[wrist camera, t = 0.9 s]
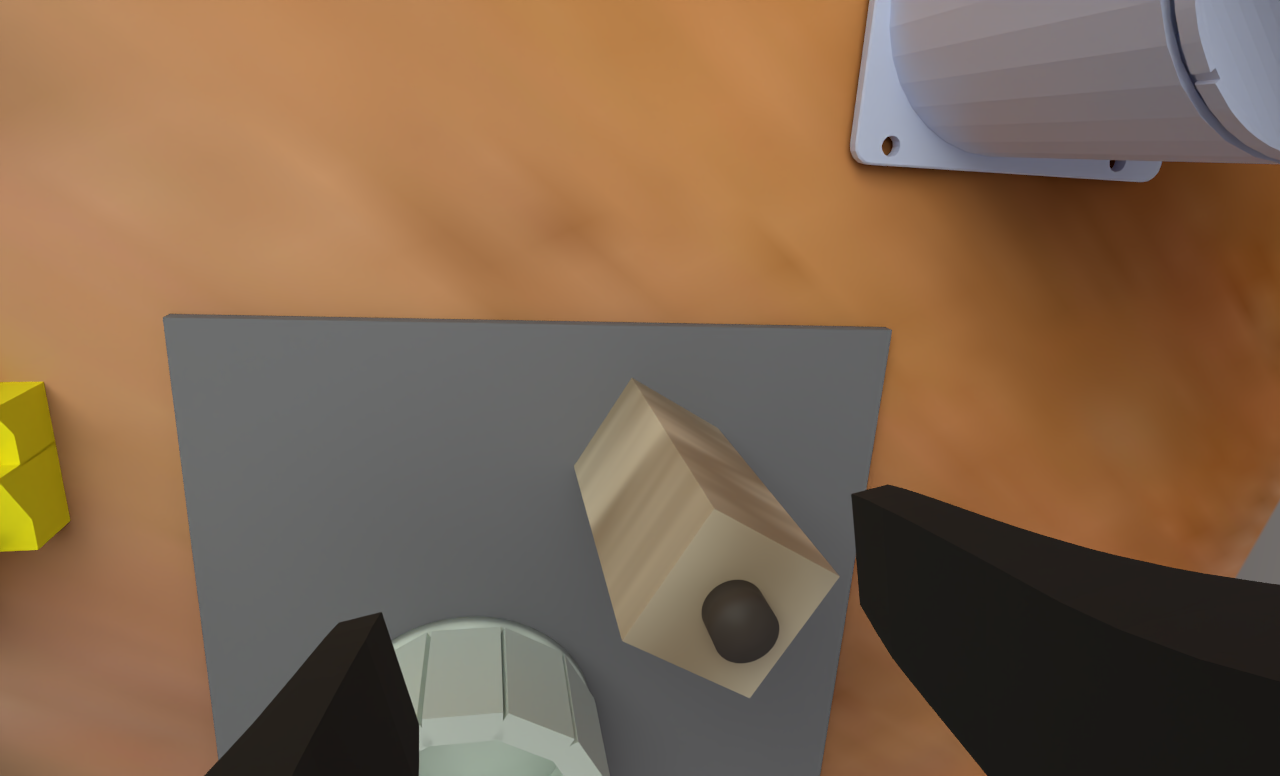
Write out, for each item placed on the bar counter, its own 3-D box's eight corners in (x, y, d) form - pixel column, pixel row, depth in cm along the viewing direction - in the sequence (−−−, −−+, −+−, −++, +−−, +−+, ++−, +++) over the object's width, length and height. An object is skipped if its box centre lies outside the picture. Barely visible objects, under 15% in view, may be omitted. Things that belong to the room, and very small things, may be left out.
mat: (885, 327, 22) (891, 330, 22) (811, 790, 27) (816, 799, 27) (169, 313, 18) (162, 317, 18) (235, 855, 23) (232, 866, 23)
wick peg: (717, 428, 22) (859, 600, 14) (660, 511, 22) (763, 728, 14) (631, 377, 21) (727, 529, 13) (573, 466, 21) (630, 669, 13)
